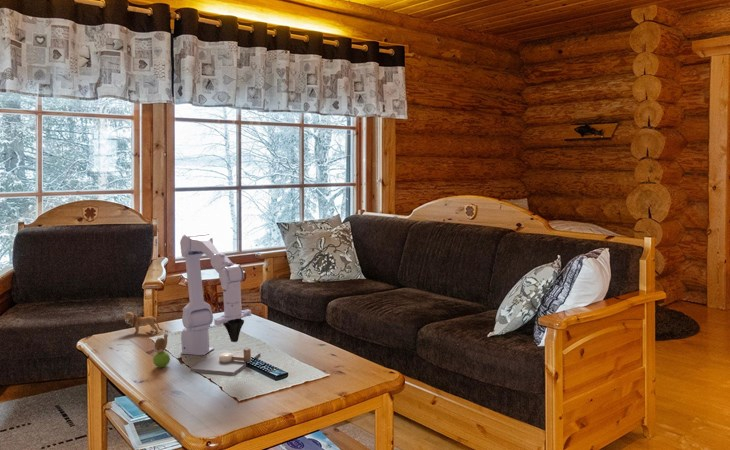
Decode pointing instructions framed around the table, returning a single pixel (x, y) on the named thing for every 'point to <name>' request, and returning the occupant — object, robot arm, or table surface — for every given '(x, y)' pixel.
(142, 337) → the table surface
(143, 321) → the lion figurine
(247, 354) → the brown white rounded rod
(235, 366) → the stud board
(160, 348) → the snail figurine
